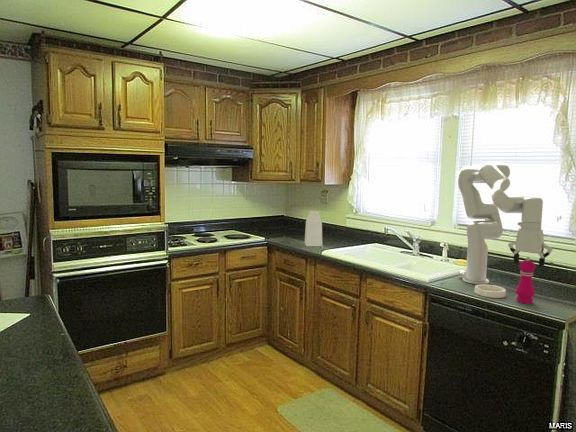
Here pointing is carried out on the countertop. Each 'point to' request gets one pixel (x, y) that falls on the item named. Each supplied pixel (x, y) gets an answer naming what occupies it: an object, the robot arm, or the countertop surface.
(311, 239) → the milk
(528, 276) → the pepper mill
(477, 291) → the ring holder
